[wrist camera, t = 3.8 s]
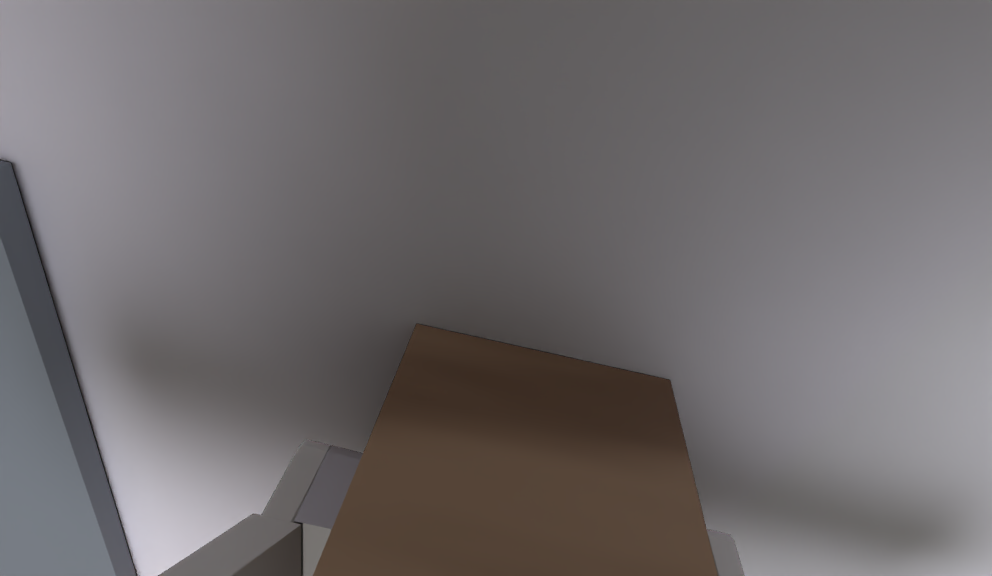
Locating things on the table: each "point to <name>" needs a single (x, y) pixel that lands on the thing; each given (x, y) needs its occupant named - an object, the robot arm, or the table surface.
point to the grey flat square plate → (45, 428)
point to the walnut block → (519, 471)
